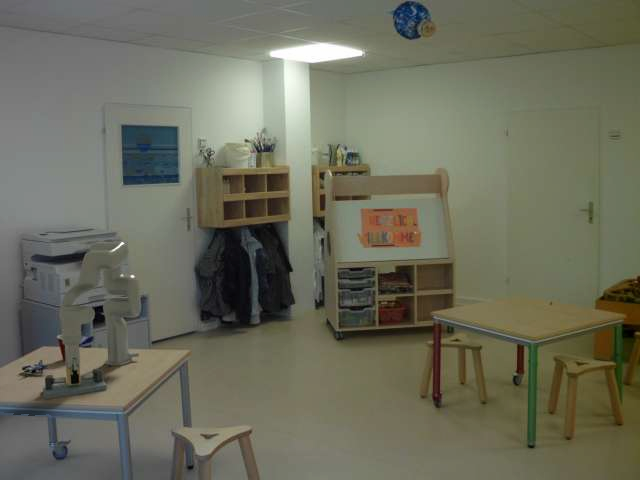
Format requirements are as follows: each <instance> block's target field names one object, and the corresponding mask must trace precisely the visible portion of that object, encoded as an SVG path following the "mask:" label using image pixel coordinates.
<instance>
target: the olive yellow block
mask: <svg viewBox="0 0 640 480" xmlns="http://www.w3.org/2000/svg"><path fill="white" fill-rule="evenodd" d="M80 366H81V365H80ZM80 366H79V367H78V374H79V383H78V384H81V381H82V376H81V367H80ZM72 367H73V366H72ZM65 368H66V371H65V372H66V383H67V384H68V386H69V385H75V384H71V368H67V366H66V367H65ZM73 370H74V369H73Z"/></svg>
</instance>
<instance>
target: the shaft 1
mask: <svg viewBox="0 0 640 480" xmlns="http://www.w3.org/2000/svg"><path fill="white" fill-rule="evenodd" d="M44 383H45V384H44V386H45V387H46V390H52V388H53V387H54V386H53V385H57V384H64V383H67V376H62V377H60V376H59V377H54V375H53V374H48V375H46V376H45V377H44Z"/></svg>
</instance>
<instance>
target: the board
mask: <svg viewBox="0 0 640 480" xmlns="http://www.w3.org/2000/svg"><path fill="white" fill-rule="evenodd" d="M53 386H54V387H53V388H52V390H46V387H45V385H44V386H42V391H43V392H42V393H43V395H44V399H45V400H48V399H55V398H60V397H66V396H67V397H68V396H74V395H79V394H80V395H81V394H86V393H92V392H93V393H94V392H99V391H105V390H107V386H108V385H107V383H106V382H105V380H104V379H103V382H99V383H97V382H95V381H93V378H92V379H87V380H81V384H75V385H69V386H68V384H67V382H66V383H59V384H53Z"/></svg>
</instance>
